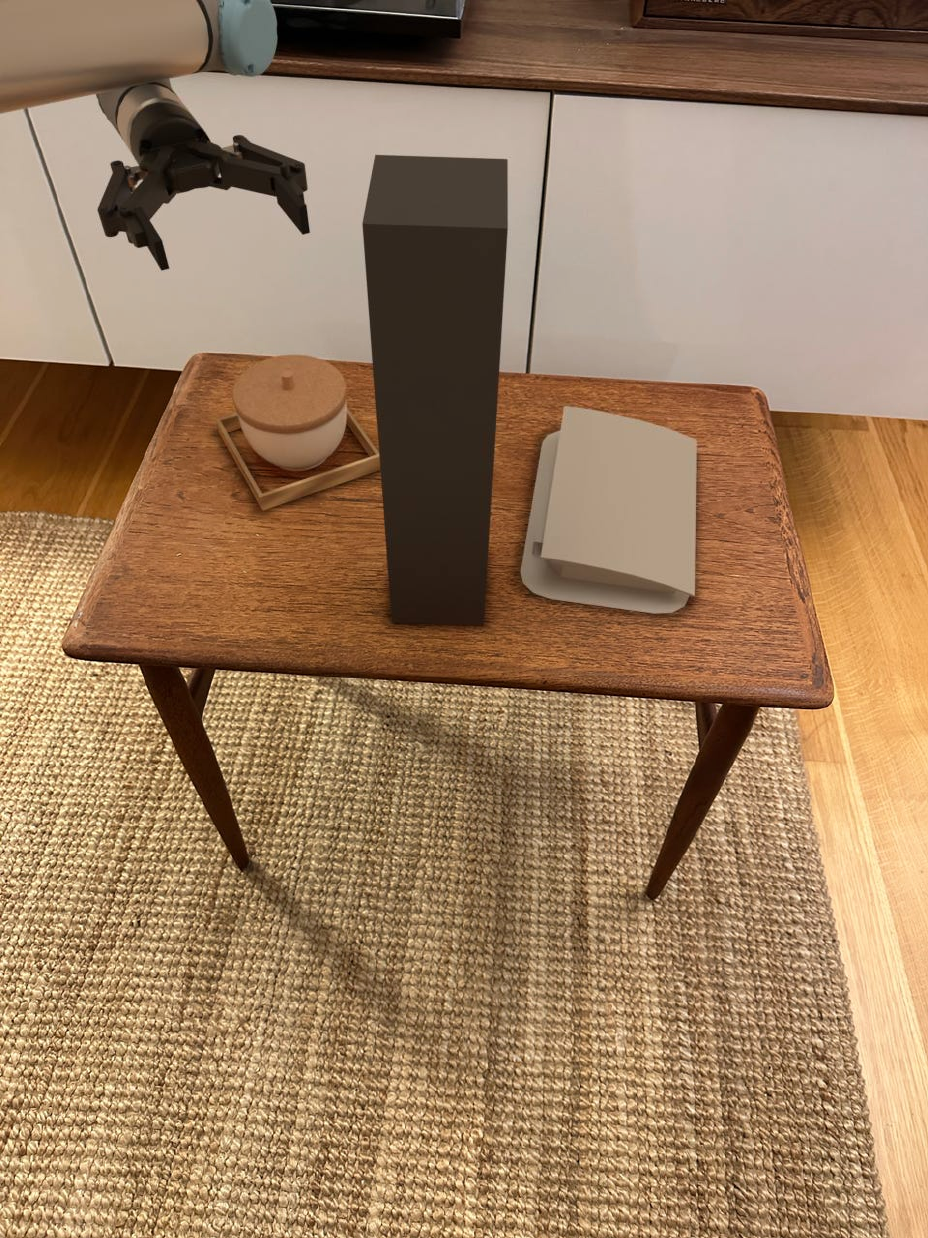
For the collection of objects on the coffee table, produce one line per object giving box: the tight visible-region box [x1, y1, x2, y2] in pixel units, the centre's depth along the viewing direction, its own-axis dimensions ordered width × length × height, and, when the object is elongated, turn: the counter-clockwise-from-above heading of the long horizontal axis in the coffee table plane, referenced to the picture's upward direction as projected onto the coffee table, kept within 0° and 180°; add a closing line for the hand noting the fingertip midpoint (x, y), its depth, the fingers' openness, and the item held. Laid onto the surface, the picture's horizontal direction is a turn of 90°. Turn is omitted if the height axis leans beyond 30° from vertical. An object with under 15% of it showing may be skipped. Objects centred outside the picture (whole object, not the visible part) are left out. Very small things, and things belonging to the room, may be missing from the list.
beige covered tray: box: [519, 405, 698, 615], centre depth 85 cm, size 15×23×4 cm, turn 171°
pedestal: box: [361, 154, 509, 627], centre depth 66 cm, size 8×8×36 cm
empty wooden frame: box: [215, 407, 380, 511], centre depth 90 cm, size 13×13×2 cm
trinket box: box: [231, 354, 348, 472], centre depth 87 cm, size 11×11×9 cm
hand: (235, 237), depth 82 cm, fingers open, 13 cm apart
